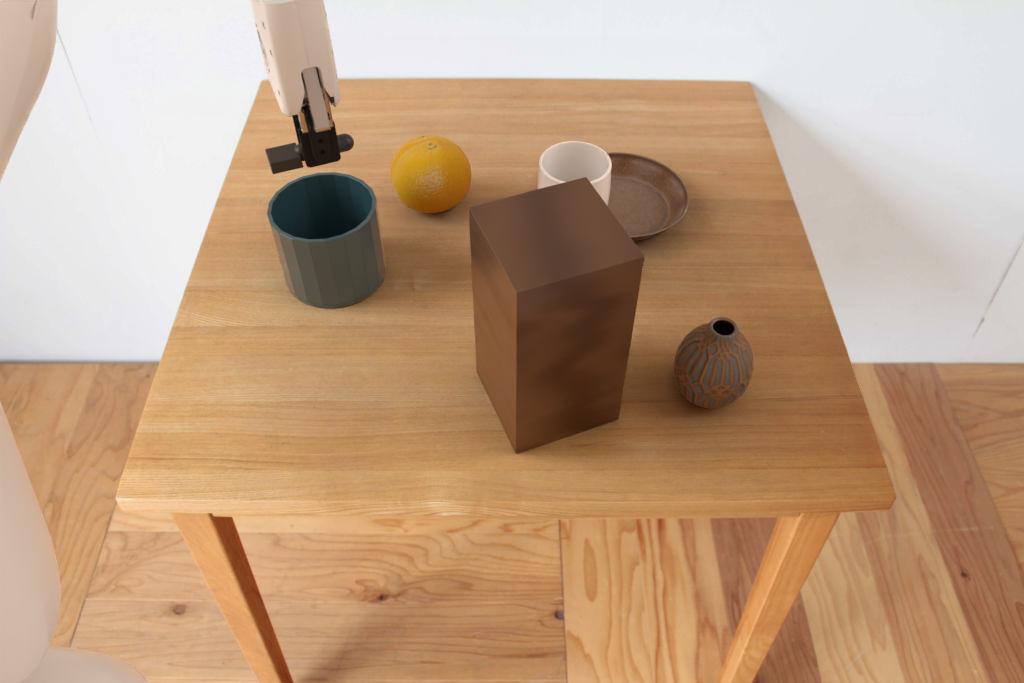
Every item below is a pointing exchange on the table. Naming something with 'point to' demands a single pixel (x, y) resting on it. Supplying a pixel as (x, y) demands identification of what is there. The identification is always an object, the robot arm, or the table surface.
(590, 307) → the stand
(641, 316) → the table surface
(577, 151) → the tall white cup
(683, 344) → the vase
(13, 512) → the robot arm
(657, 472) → the table surface
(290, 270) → the tumbler
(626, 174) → the saucer
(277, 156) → the dark grey mallet
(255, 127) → the table surface
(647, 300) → the table surface
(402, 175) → the fruit
